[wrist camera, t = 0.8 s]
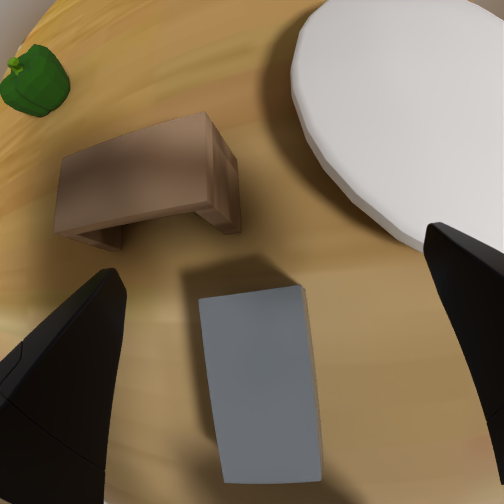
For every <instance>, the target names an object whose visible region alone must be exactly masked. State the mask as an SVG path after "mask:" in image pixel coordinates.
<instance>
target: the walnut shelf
mask: <svg viewBox="0 0 504 504" xmlns="http://www.w3.org/2000/svg"><path fill="white" fill-rule="evenodd" d="M189 212H196V213H197V214H198V215H200V216H201V217H202V218H204V219H205V220H206V221H208V222H209V223H210V224H212V225H213V226H215V227H216V228H217V229H219V230H220V231H221V232H223V233H224V234H225V235H226V234H233V233H241V232H242V229H241V214H240V199H239V184H238V168H237V159H236V158H235V156H234V155H233V153H232V152H231V150H230V148H229V147H228V145H227V144H226V142H225V141H224V139H223V138H222V136H221V135H220V133H219V132H218V130H217V128H216V127H215V125H214V124H213V122H212V121H211V119H210V118H209V116H208V115H207V113H206V112H201V113H197V114H193V115H189V116H185V117H181V118H178V119H174V120H171V121H167V122H164V123H160V124H157V125H154V126H150V127H147V128H144V129H141V130H138V131H134V132H131V133H128V134H125V135H122V136H119V137H117V138H114V139H111V140H108V141H105V142H103V143H100V144H97V145H94V146H92V147H89V148H87V149H84V150H81V151H79V152H76V153H74V154H71V155H69V156H67V157H64V158H63V160H62V166H61V172H60V178H59V185H58V192H57V200H56V208H55V218H54V229H53V233H54V234H57V235H60V236H63V237H67V238H70V239H73V240H76V241H79V242H82V243H85V244H88V245H92V246H95V247H98V248H101V249H104V250H108V251H116V250H122V225H124V224H129V223H134V222H139V221H145V220H150V219H155V218H161V217H166V216H172V215H177V214H183V213H189Z"/></svg>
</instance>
